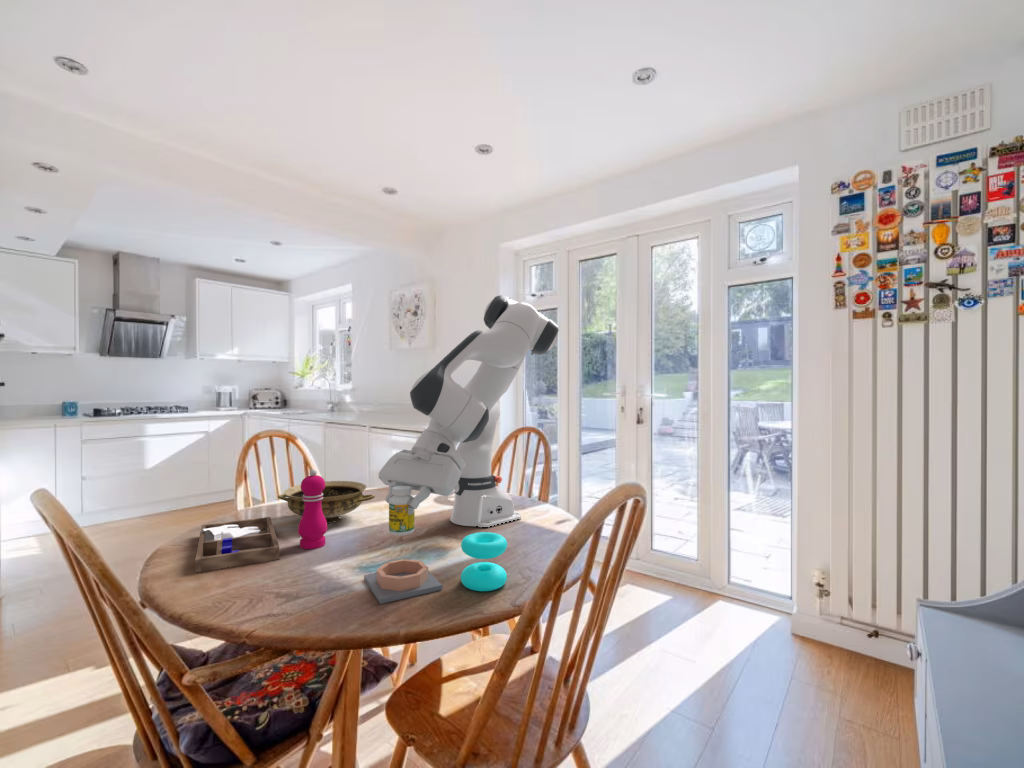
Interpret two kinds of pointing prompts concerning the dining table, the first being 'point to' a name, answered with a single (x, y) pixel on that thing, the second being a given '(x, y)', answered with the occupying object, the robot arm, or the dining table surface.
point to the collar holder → (401, 580)
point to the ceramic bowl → (330, 498)
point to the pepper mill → (312, 513)
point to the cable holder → (227, 546)
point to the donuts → (483, 573)
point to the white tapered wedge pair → (228, 532)
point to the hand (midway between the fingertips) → (399, 504)
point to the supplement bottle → (401, 511)
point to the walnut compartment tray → (238, 547)
